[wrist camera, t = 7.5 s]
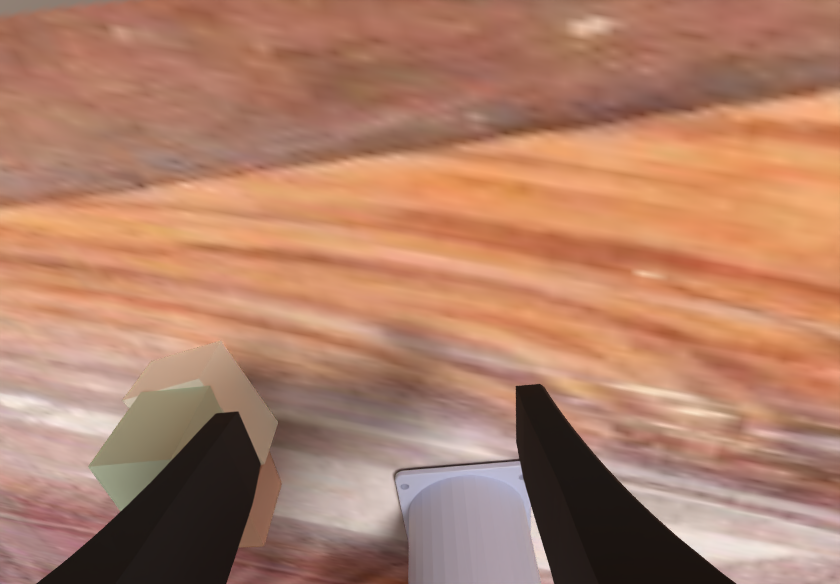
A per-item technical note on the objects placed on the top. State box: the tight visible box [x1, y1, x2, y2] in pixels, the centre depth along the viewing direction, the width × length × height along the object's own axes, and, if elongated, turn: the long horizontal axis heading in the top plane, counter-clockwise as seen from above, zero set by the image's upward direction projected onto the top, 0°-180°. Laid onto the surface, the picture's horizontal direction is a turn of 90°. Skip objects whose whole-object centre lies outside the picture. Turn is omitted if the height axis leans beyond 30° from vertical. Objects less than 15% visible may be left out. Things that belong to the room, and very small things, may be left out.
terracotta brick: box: [238, 451, 282, 548], centre depth 27 cm, size 6×3×4 cm, turn 95°
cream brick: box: [122, 340, 278, 465], centre depth 24 cm, size 6×4×3 cm, turn 19°
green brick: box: [88, 386, 222, 511], centre depth 21 cm, size 6×3×4 cm, turn 7°
